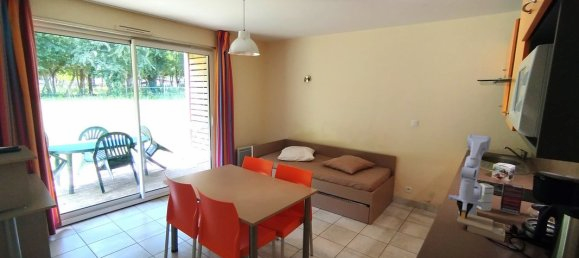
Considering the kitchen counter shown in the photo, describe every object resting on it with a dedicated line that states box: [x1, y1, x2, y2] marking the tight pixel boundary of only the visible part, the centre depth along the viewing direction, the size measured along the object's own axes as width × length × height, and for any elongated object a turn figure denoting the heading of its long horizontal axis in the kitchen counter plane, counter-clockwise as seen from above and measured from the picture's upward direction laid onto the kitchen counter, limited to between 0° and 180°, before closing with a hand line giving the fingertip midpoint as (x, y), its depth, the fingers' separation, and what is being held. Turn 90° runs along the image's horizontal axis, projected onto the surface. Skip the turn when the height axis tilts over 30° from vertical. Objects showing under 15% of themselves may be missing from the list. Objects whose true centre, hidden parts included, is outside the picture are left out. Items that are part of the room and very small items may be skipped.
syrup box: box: [476, 182, 495, 212], centre depth 153 cm, size 6×6×14 cm
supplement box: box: [499, 182, 524, 216], centre depth 150 cm, size 9×5×16 cm, turn 54°
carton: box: [466, 220, 506, 243], centre depth 129 cm, size 14×14×3 cm
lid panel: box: [456, 210, 494, 232], centre depth 131 cm, size 14×14×4 cm
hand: (463, 216), depth 134 cm, fingers closed on lid panel, 2 cm apart
